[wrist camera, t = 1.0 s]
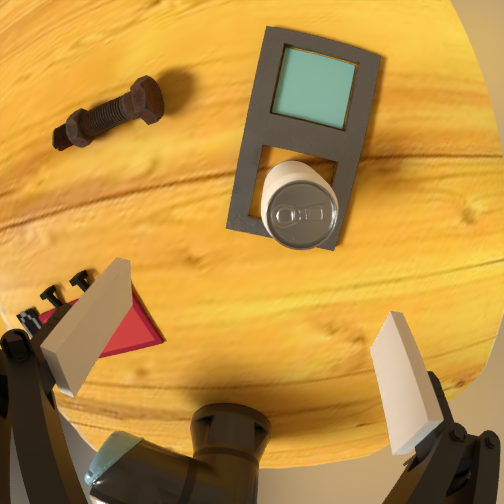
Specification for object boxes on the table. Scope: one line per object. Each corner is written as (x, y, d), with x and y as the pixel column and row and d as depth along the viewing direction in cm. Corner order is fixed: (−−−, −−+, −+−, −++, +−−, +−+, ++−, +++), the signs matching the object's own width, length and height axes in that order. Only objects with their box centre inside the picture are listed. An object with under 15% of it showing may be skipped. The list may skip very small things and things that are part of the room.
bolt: (72, 133, 35) (165, 93, 32) (68, 164, 34) (165, 126, 31) (46, 115, 29) (143, 66, 26) (39, 149, 28) (141, 100, 26)
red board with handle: (13, 305, 45) (54, 363, 50) (5, 312, 43) (49, 372, 48) (114, 255, 40) (165, 337, 45) (105, 263, 37) (160, 349, 42)
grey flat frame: (332, 247, 37) (333, 251, 36) (227, 225, 36) (225, 228, 35) (377, 58, 27) (380, 55, 26) (266, 29, 27) (266, 25, 26)
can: (260, 162, 33) (255, 178, 22) (318, 158, 33) (341, 172, 22) (266, 217, 36) (264, 258, 25) (321, 212, 35) (343, 252, 24)
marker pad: (341, 129, 31) (342, 129, 31) (271, 112, 31) (271, 112, 31) (354, 65, 28) (355, 65, 28) (285, 48, 28) (285, 47, 28)
